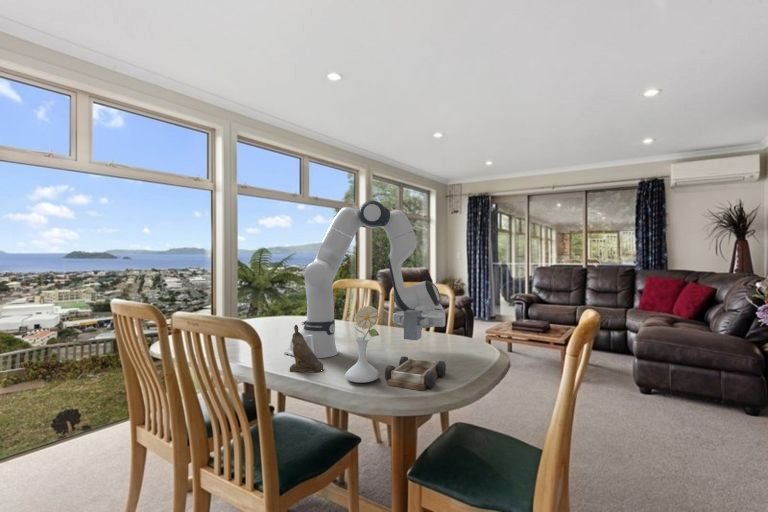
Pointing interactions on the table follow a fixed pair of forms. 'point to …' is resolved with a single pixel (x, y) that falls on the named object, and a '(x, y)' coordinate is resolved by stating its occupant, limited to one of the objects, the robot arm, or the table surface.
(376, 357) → the table surface
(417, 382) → the chassis
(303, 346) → the brown carved statuette
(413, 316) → the block
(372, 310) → the flower in vase
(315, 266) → the robot arm
